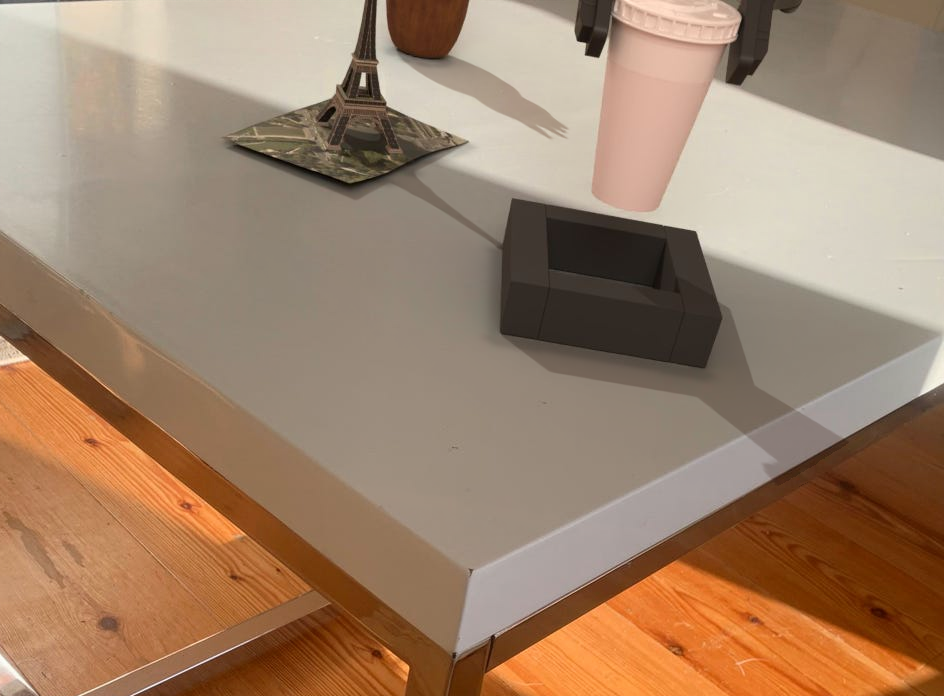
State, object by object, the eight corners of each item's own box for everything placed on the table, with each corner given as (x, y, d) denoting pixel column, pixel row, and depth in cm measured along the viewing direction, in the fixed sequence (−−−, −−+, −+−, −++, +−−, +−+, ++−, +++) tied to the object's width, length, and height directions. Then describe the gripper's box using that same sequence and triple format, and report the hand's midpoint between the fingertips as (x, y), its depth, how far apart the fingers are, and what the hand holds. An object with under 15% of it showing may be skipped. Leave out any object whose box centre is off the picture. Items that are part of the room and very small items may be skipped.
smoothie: (546, 171, 60) (611, -127, 51) (649, 173, 62) (728, -111, 54) (598, 223, 56) (678, -92, 47) (707, 223, 58) (802, -77, 49)
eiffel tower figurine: (350, 98, 83) (370, -107, 74) (469, 141, 80) (504, -68, 71) (220, 143, 72) (227, -91, 63) (353, 195, 69) (378, -43, 60)
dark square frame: (681, 277, 68) (696, 230, 66) (705, 368, 59) (723, 317, 57) (502, 245, 67) (511, 197, 65) (499, 333, 58) (510, 280, 56)
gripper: (582, -356, 51) (531, -13, 49) (886, -289, 52) (847, 49, 50) (553, -227, 58) (508, 75, 56) (820, -170, 59) (784, 127, 57)
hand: (668, 61), depth 53 cm, fingers closed on smoothie, 6 cm apart
